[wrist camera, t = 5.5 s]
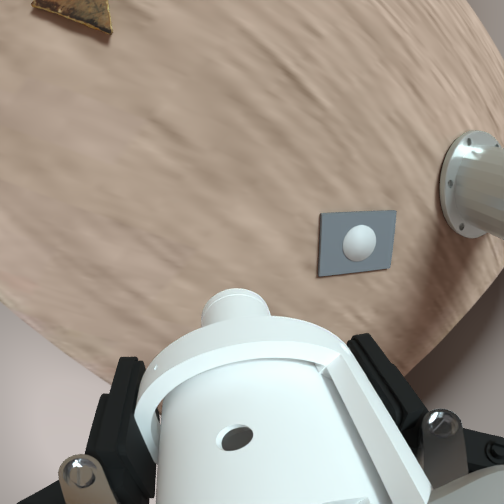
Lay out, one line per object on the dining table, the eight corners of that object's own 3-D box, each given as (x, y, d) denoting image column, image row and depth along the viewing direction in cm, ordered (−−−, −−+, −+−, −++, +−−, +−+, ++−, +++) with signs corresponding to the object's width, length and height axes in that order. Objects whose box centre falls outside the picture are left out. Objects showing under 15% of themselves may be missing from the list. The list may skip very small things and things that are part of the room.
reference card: (394, 210, 30) (397, 211, 29) (388, 266, 32) (390, 268, 31) (320, 213, 28) (322, 214, 28) (317, 274, 31) (319, 276, 30)
